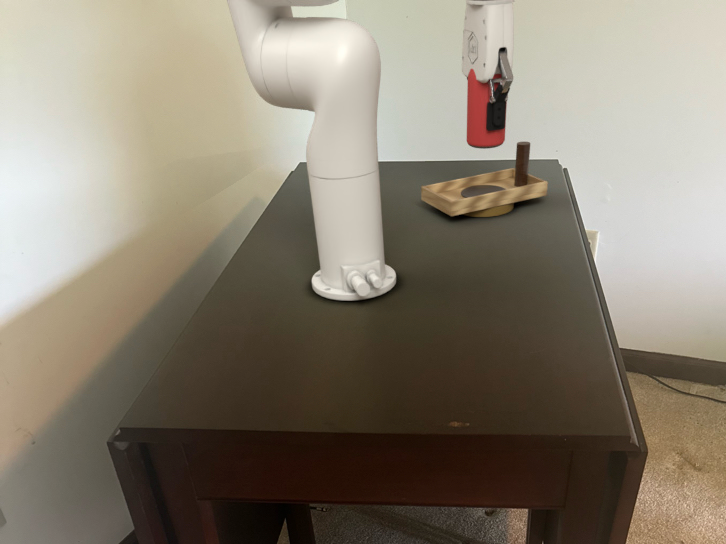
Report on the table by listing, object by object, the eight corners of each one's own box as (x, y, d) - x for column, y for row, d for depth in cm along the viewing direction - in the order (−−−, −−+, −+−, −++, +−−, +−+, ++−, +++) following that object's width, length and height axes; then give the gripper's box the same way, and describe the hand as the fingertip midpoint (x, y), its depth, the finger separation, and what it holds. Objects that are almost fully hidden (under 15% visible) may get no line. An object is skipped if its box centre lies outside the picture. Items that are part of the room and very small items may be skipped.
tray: (451, 216, 116) (451, 167, 111) (421, 200, 123) (420, 153, 118) (546, 195, 122) (551, 147, 117) (512, 180, 129) (515, 135, 124)
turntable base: (524, 211, 121) (524, 202, 120) (468, 220, 119) (468, 211, 118) (497, 194, 129) (497, 185, 128) (444, 203, 126) (444, 194, 125)
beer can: (512, 143, 117) (517, 58, 108) (488, 151, 113) (492, 65, 105) (482, 138, 120) (484, 56, 112) (458, 146, 117) (459, 62, 108)
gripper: (446, -12, 108) (446, 118, 120) (493, -4, 95) (488, 139, 108) (488, -15, 109) (484, 112, 121) (540, -8, 97) (529, 133, 109)
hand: (486, 124), depth 114 cm, fingers closed on beer can, 6 cm apart
